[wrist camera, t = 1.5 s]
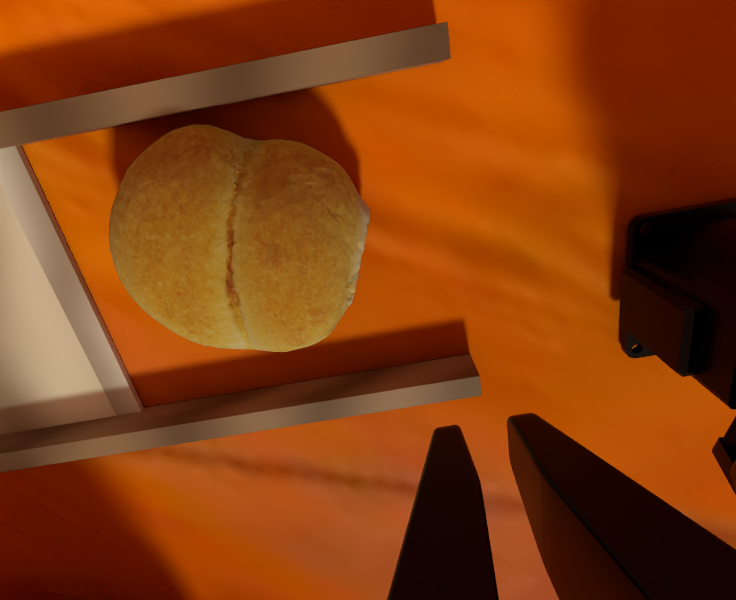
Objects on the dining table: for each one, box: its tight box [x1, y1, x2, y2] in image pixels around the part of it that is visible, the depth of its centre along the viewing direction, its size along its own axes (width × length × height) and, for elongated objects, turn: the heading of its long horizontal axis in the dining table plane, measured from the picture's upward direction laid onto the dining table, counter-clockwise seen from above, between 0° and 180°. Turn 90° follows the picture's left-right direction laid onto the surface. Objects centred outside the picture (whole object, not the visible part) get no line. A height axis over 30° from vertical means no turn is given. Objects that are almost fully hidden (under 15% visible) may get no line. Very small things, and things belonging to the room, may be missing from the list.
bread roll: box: [109, 124, 370, 352], centre depth 16 cm, size 8×9×4 cm
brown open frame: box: [0, 22, 481, 472], centre depth 17 cm, size 25×14×3 cm, turn 100°
